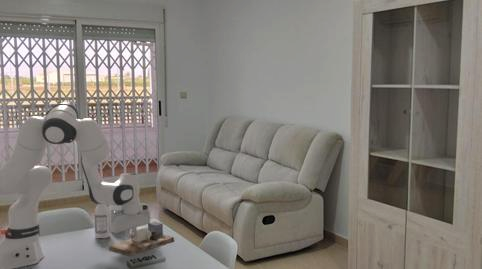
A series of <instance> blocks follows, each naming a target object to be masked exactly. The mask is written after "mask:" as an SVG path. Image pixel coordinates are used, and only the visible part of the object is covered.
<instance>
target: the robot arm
mask: <svg viewBox="0 0 482 269" xmlns="http://www.w3.org/2000/svg"><path fill="white" fill-rule="evenodd" d="M74 141H75V143H76V144H77V146H78V148H79V151H80V153H81V158H80V164H81V168H82V172H83V175H84V178H85V180H86V183H87V188H88V194H89V199H90V200H91V202H92V203H94V204H95V205H98V204H106V205H108V206H109V205H117V206H119V205H120V211H116V212H113V213H112V215H111V222H110V233H114V234H118V233H121V232H125V234H126V235H127V239H128V240H130V239H131V238H134V237H135V232H136V230H137V228H138V227H144V226H146V225H147V226H148V224H149V223H151V213H150V210H149V209H150V205H149V204H146V203H142V202H141V199H140V180H139V176H138V174H136V173H134V172H133V173H131V172H122V173H120V176H119V178H118V179H117V180H115V181H114V182H108V181H106V180H103V179H102V177H101V175H100V171H99V168H98V165H100V164H103V162H104V161H105V160H106V159H107V158H108V157H109V155H110V145H109V142H108V141H107V138H106V137H105V133H104V132H103V130H102V129H101V127H100V126H99V124H98V123H97V122H96V120H95V119H93V118H87V117H86V118H83V119H79V113H78V110H77V107H75V105H74V104H72V103H70V102H68V101H67V102H66V101H65V102H59V103H58V104H56V105H54V106H53V107H51V108H50V109H49V110H48V111H47V112H46V113H45V116H43V117H42V116H37V115H33V116H29V117H27V118H26V119H25V120H24V121H23V123H22V125H21V128H20V130H19V132H18V135H17V138H16V142H15V146H14V148H13V152H12V153H11V156H10V157H9V159H8V160H7V161H6V162H5V164H3V165H1V167H0V197H11V196H16V195H19V197H18V199H17V200H16V202H14V203H13V204H11V205H10V207H9V209H8V210H7V211H8V213H7V214H8V227H7V229H5V228H1V229H0V234H1V235H4V238H2V240H0V269H18V268H23V267H27V266H30V265H35V264H39V262H40V261H41V260H42V259H43V258H44V257H45V255H44V252H43V249H42V246H41V240H40V235H41V234H40V233H41V231H40V230H41V229H40V223H39V218H38V217H39V204H40V201H41V198H42V196H43V194H44V192H45V191H46V190H47V189H48V188H49V187H50V186H51V184H52V182H53V174H52V171H51V169H50V168H49V167H47V166H45V165H40V164H41V163H42V161H43V159H44V156H45V155H44V154H45V151H46V149H47V145H48V143H49V144H50V145H51V144H52V145H63V144H71V143H73V142H74ZM131 229H132V232H131Z"/></svg>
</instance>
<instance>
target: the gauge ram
mask: <svg viewBox="0 0 482 269" xmlns="http://www.w3.org/2000/svg"><path fill="white" fill-rule="evenodd" d="M131 232H132V229H130V233H131ZM148 236H152V232H151V231H149V230H148V227H144V226H139V227H137V230H136V232H135V237H134V238H130V239H131V240H133V241H136V242H140V241H143V240H146V239H148Z"/></svg>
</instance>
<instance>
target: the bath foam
mask: <svg viewBox="0 0 482 269" xmlns="http://www.w3.org/2000/svg"><path fill="white" fill-rule="evenodd" d="M93 216H94V233H95V234H94V235H95V238H96V239H99V238H103V239H108V238H109V237H111V231H110V217H109V206H107V204H96V207H95V209H94V214H93Z"/></svg>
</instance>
